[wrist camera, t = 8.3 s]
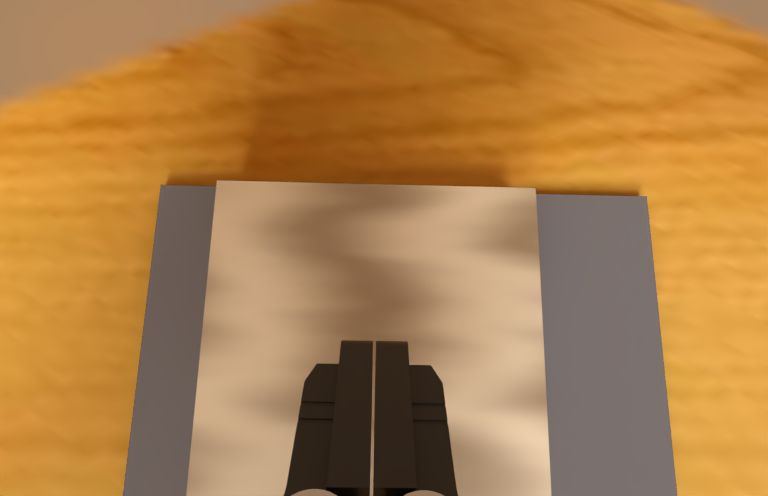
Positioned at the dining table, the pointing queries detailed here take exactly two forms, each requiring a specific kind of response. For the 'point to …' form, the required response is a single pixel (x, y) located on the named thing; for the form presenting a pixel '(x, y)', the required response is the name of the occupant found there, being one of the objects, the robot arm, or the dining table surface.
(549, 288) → the mat
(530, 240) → the placard
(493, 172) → the dining table surface
